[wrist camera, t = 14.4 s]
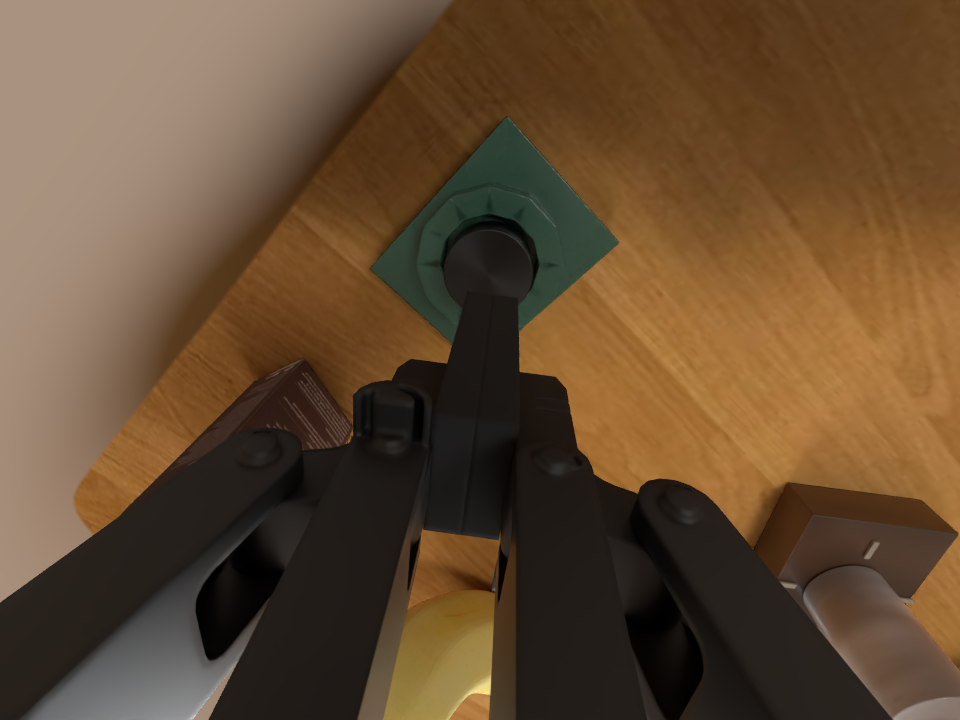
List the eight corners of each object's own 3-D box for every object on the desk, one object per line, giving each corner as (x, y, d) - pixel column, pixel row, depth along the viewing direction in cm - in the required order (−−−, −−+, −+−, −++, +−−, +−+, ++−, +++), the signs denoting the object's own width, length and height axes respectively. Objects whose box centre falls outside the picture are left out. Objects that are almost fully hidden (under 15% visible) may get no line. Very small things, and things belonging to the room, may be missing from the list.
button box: (507, 116, 24) (506, 114, 20) (611, 234, 26) (627, 251, 22) (379, 258, 27) (359, 278, 23) (480, 351, 29) (476, 382, 26)
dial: (791, 612, 33) (872, 754, 25) (821, 560, 31) (919, 698, 23) (863, 621, 33) (967, 765, 25) (898, 570, 31) (1023, 711, 23)
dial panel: (786, 481, 32) (813, 516, 29) (923, 499, 32) (963, 536, 29) (725, 602, 37) (742, 641, 34) (843, 618, 37) (870, 658, 34)
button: (490, 201, 22) (487, 208, 20) (548, 263, 23) (551, 275, 21) (431, 262, 23) (424, 273, 21) (489, 318, 24) (488, 333, 22)
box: (250, 382, 31) (110, 517, 20) (306, 356, 30) (189, 484, 19) (303, 451, 33) (203, 607, 22) (357, 429, 32) (279, 581, 21)
